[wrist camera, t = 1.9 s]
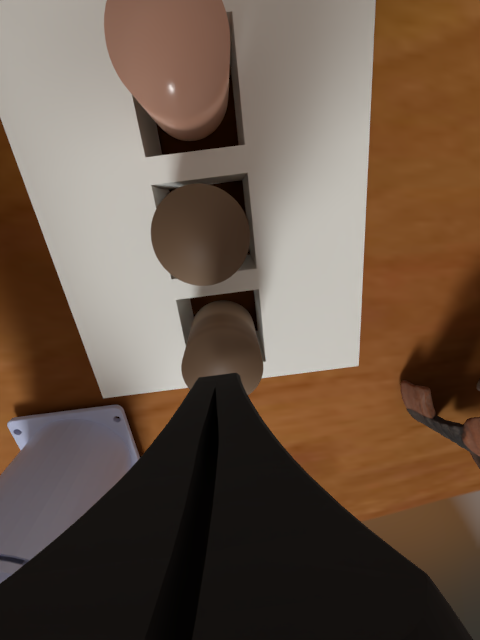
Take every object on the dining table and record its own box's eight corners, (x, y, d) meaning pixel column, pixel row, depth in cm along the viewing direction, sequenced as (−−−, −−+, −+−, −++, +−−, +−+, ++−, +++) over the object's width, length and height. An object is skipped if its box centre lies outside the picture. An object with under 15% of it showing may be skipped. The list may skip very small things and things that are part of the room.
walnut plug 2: (256, 353, 15) (266, 398, 12) (197, 360, 15) (189, 407, 12) (250, 296, 14) (259, 327, 11) (186, 304, 14) (173, 337, 11)
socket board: (332, 334, 19) (358, 365, 16) (126, 361, 19) (103, 398, 16) (334, 23, 13) (377, -48, 9) (34, 61, 13) (-41, 5, 9)
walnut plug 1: (247, 260, 13) (254, 279, 10) (179, 268, 13) (163, 291, 10) (238, 185, 12) (244, 177, 9) (164, 194, 12) (139, 190, 9)
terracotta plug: (233, 136, 11) (237, 105, 8) (154, 146, 11) (123, 120, 8) (222, 32, 10) (220, -58, 7) (134, 43, 10) (87, -40, 7)
